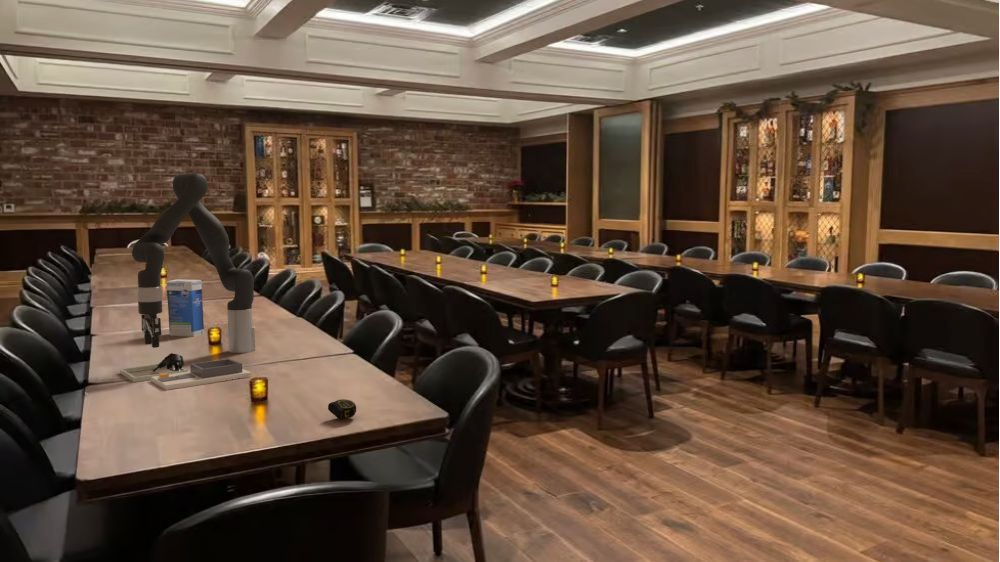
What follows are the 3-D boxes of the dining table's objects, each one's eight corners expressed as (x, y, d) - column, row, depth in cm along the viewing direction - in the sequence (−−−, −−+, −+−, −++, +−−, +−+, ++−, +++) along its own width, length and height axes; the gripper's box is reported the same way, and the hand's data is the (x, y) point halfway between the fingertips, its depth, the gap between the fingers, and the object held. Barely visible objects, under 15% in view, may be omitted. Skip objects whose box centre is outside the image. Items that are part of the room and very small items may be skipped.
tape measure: (326, 412, 205) (327, 400, 204) (348, 409, 209) (349, 397, 209) (337, 423, 200) (338, 410, 199) (359, 419, 204) (360, 406, 203)
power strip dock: (233, 368, 265) (233, 356, 265) (251, 376, 253) (250, 363, 253) (151, 381, 247) (150, 368, 247) (166, 390, 235) (165, 376, 235)
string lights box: (204, 336, 332) (202, 279, 329) (193, 339, 324) (191, 281, 322) (180, 335, 335) (177, 279, 333) (168, 338, 328) (165, 280, 325)
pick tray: (172, 366, 270) (171, 362, 270) (188, 374, 257) (188, 370, 257) (119, 373, 259) (119, 369, 259) (133, 382, 246) (133, 377, 245)
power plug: (158, 371, 263) (185, 353, 262) (162, 388, 259) (189, 369, 258) (146, 366, 259) (173, 347, 258) (150, 383, 254) (177, 364, 253)
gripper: (167, 300, 252) (169, 347, 254) (155, 297, 263) (157, 341, 265) (144, 302, 247) (146, 350, 249) (132, 298, 258) (134, 344, 260)
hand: (151, 345), depth 257 cm, fingers open, 8 cm apart
